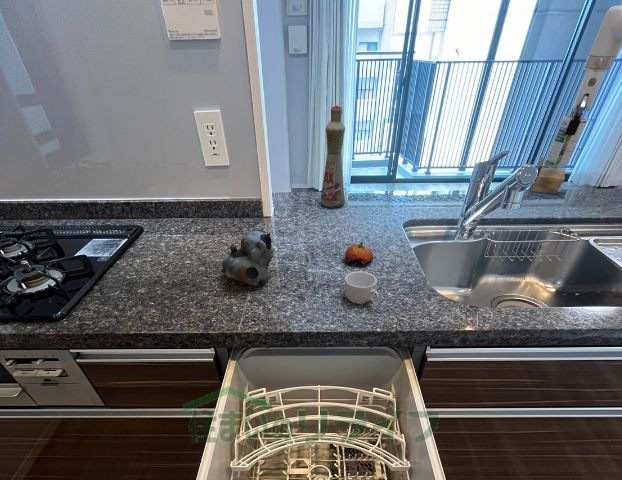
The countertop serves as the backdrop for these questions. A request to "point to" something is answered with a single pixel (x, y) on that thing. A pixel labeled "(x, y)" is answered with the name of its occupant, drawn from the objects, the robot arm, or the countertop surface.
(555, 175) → the small cardboard box
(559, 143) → the syrup box
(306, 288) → the countertop surface
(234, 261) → the lucky cat figurine
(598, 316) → the countertop surface
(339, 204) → the bottle
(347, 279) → the teacup
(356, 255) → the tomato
